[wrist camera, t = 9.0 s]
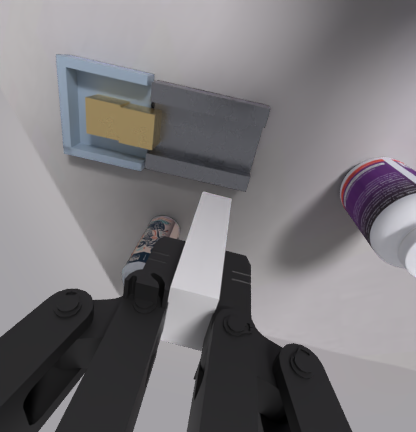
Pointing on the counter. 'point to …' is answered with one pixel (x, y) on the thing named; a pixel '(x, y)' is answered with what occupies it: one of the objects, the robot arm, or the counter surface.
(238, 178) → the slot rail
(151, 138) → the block
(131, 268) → the beer can
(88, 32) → the counter surface
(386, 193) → the pill bottle
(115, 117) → the tan small block
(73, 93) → the chip tray
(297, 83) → the counter surface
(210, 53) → the counter surface
